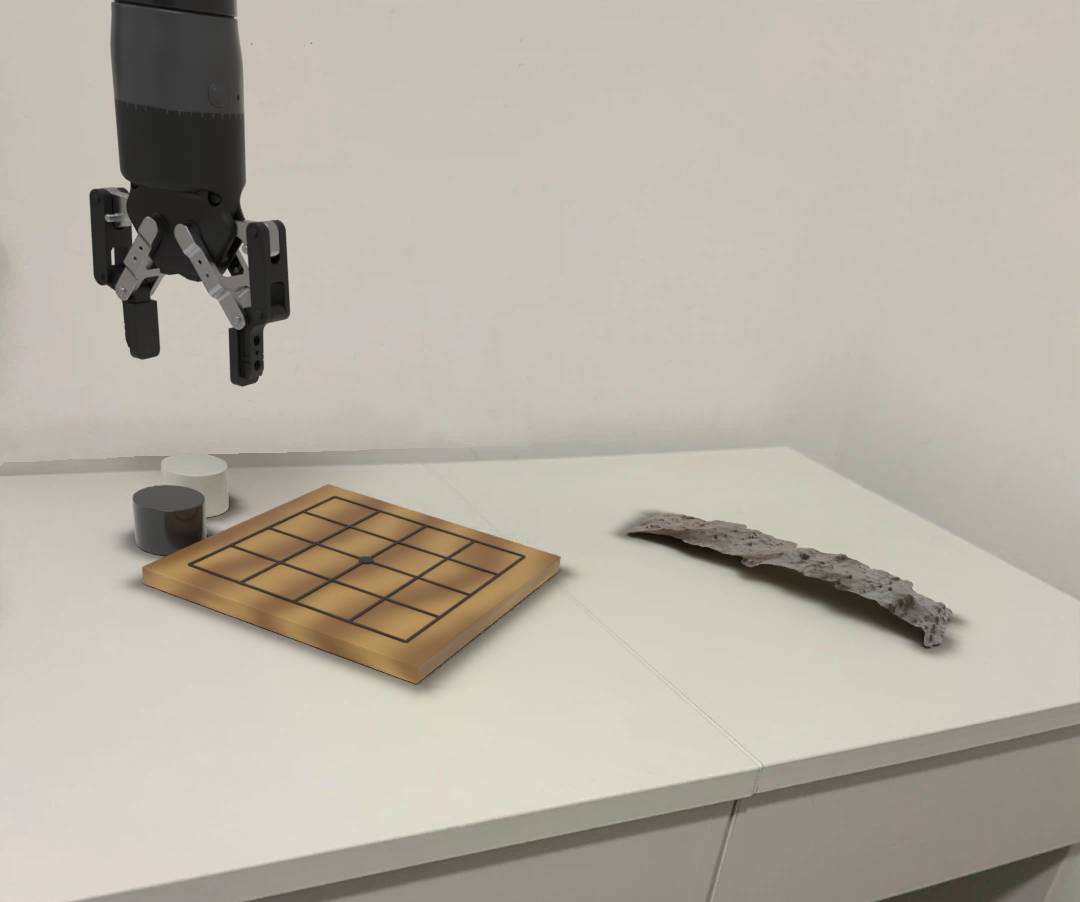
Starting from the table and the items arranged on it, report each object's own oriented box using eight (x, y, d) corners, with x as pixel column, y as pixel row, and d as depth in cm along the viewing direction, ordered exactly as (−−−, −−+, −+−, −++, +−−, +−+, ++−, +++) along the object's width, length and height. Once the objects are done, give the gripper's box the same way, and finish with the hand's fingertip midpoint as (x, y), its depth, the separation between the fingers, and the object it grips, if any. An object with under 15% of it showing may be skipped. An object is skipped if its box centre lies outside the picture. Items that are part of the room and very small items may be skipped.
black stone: (120, 542, 71) (116, 497, 69) (168, 523, 75) (166, 479, 73) (174, 562, 70) (172, 516, 68) (221, 541, 73) (219, 497, 72)
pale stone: (149, 506, 77) (146, 463, 75) (192, 489, 80) (190, 448, 79) (200, 523, 75) (198, 480, 74) (241, 505, 79) (241, 464, 77)
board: (142, 583, 67) (141, 564, 66) (327, 498, 83) (328, 481, 82) (416, 684, 61) (417, 664, 60) (559, 571, 77) (561, 554, 76)
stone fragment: (937, 658, 74) (955, 607, 81) (952, 622, 72) (969, 574, 80) (607, 550, 81) (653, 513, 89) (613, 515, 80) (659, 480, 87)
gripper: (314, 117, 65) (312, 383, 74) (132, 85, 69) (151, 340, 78) (235, 115, 59) (243, 405, 68) (42, 80, 63) (72, 357, 72)
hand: (194, 370), depth 73 cm, fingers open, 8 cm apart
